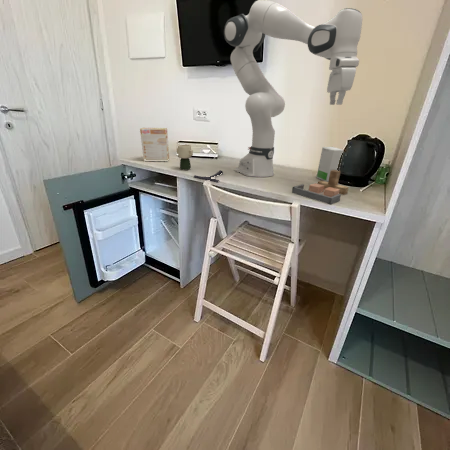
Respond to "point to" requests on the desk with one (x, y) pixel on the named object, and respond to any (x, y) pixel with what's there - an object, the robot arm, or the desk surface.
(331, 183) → the wooden toy blocks
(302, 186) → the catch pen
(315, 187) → the tile left
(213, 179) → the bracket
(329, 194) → the tile right
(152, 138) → the coffeecake box
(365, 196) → the desk surface
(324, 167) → the skincare box
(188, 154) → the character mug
